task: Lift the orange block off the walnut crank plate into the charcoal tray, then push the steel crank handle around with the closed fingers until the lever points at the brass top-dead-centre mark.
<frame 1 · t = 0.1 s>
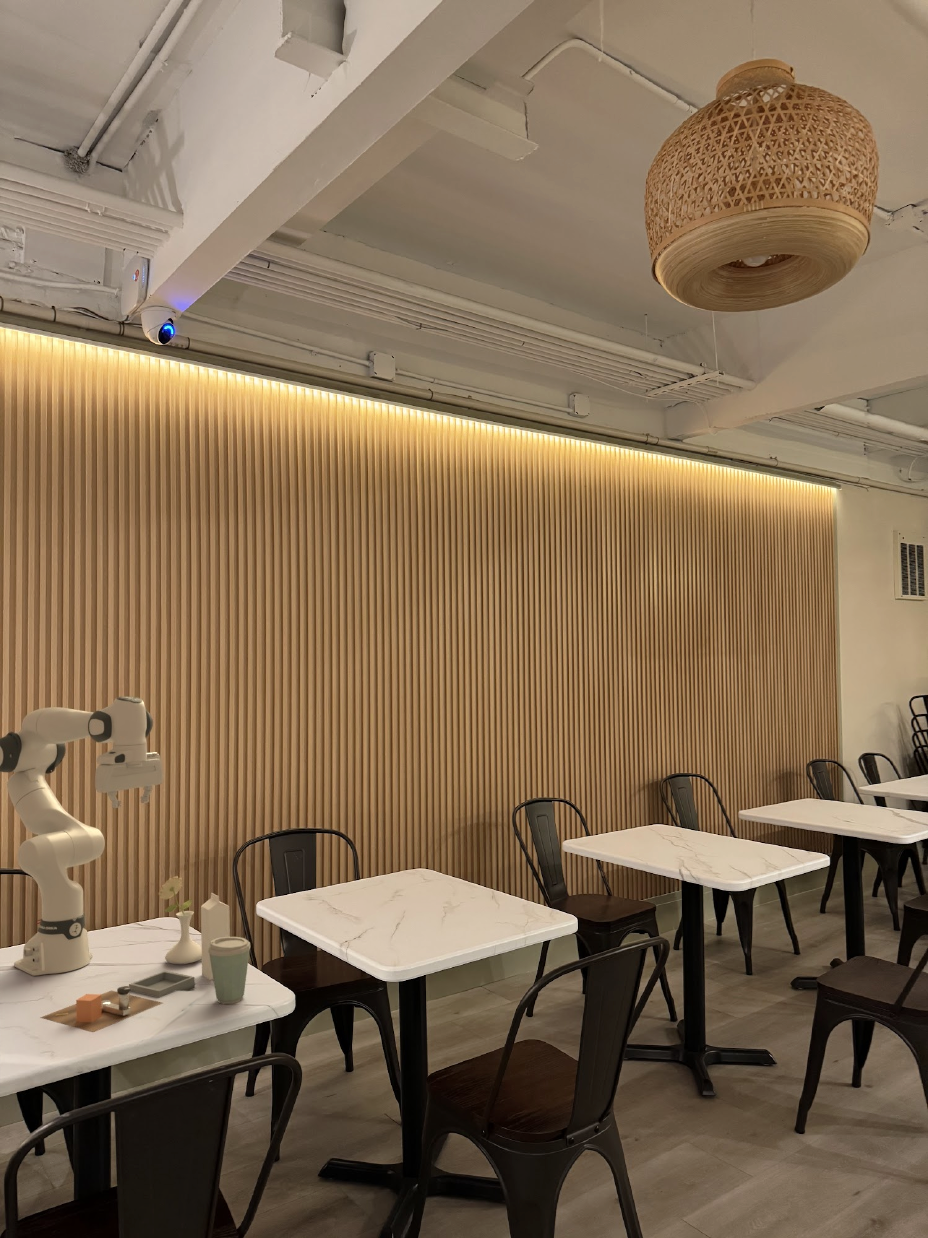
hand: (130, 805, 243), 48 cm above the table, fingers open, 8 cm apart
crank: (112, 998, 214), point 5 cm above the table, hinge at 0.0°
milk: (216, 976, 243), on the table
orange block: (89, 1018, 210), point 1 cm above the table, touching crank plate
crank plate: (102, 1016, 215), on the table
tray: (162, 992, 231), on the table
disposable coffee cup: (230, 1001, 223), on the table
flower in vase: (182, 962, 256), on the table
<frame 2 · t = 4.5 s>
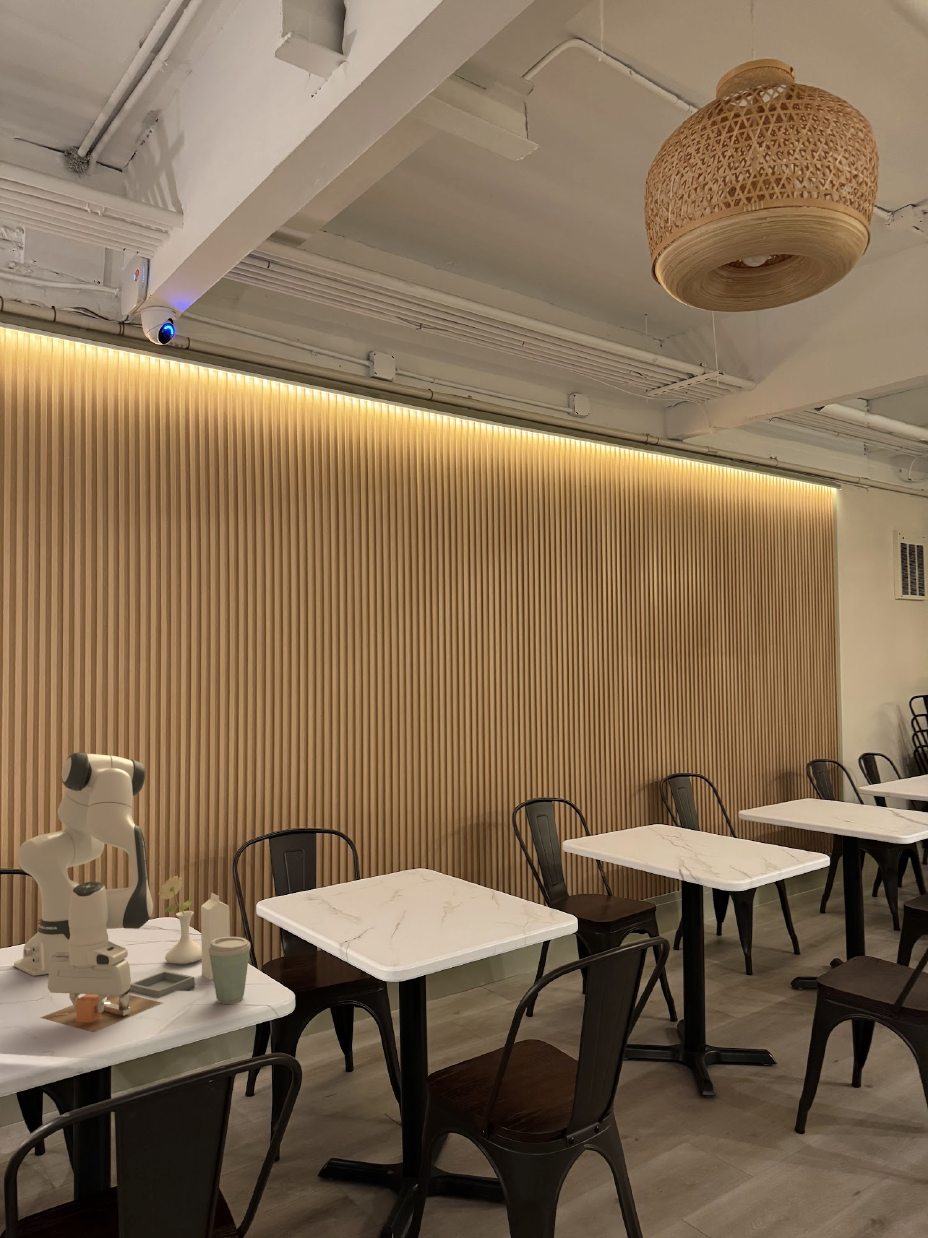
hand: (89, 1012, 210), 3 cm above the table, fingers closed on orange block, 4 cm apart
orange block: (89, 1018, 210), point 1 cm above the table, touching crank plate, gripper
everything else where it was.
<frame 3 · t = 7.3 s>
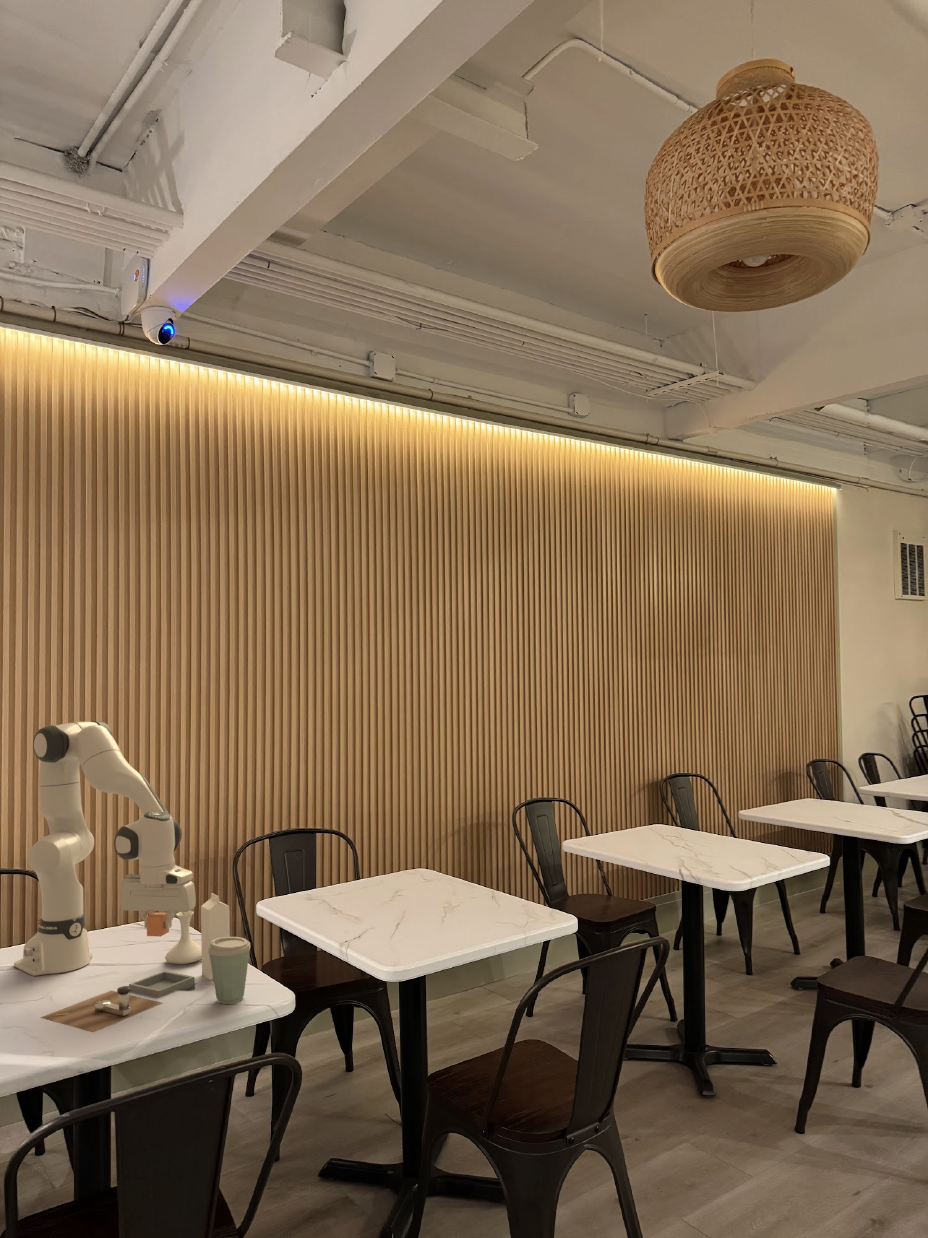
hand: (158, 928, 231), 17 cm above the table, fingers closed on orange block, 4 cm apart
orange block: (157, 934, 231), point 15 cm above the table, touching gripper
everything else where it was.
when the fingers open (5 cm above the table, at t = 10.1 s): orange block drops 2 cm, resting on tray.
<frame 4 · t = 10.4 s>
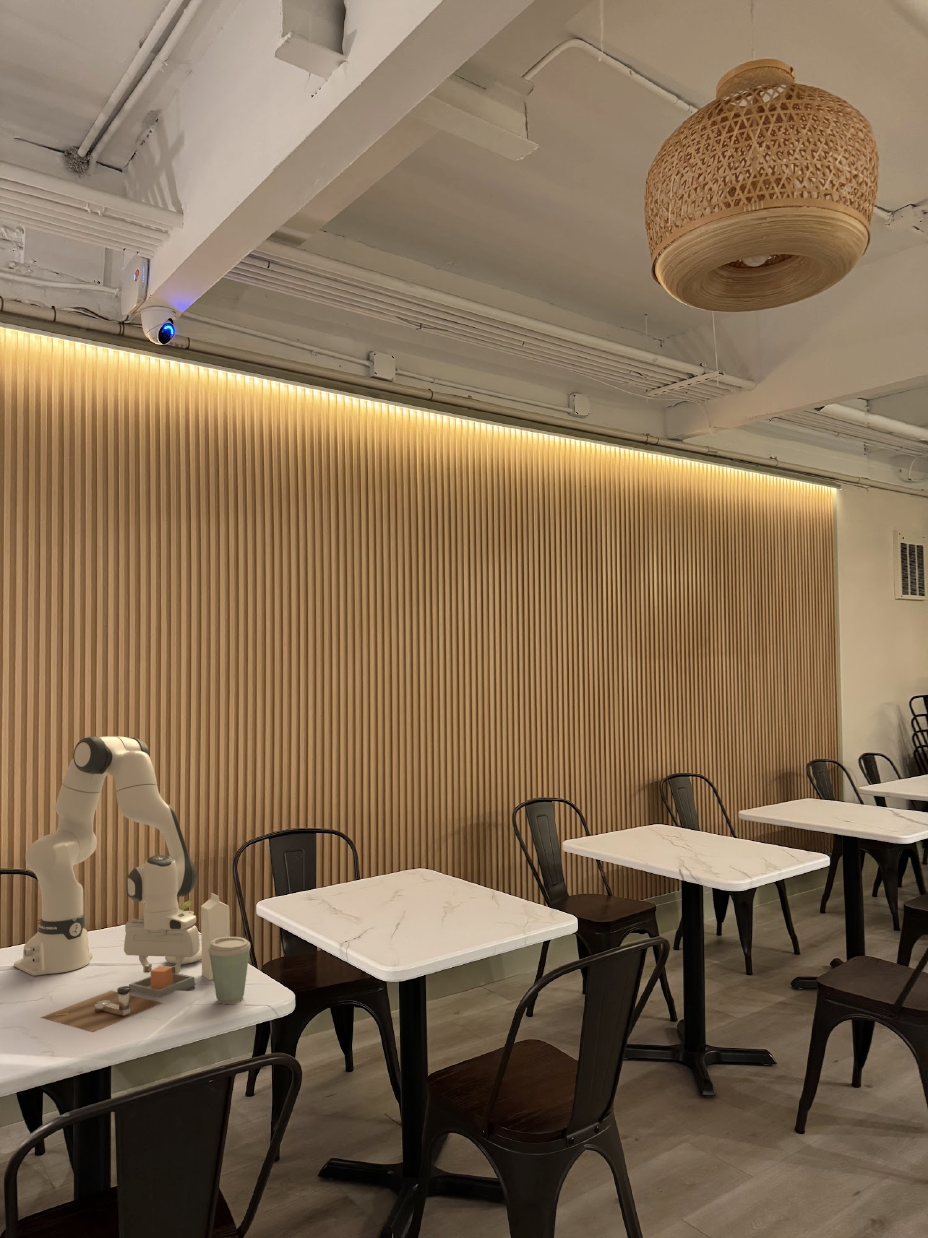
hand: (161, 972, 231), 5 cm above the table, fingers open, 7 cm apart
orange block: (161, 988, 231), point 1 cm above the table, touching tray
everything else where it was.
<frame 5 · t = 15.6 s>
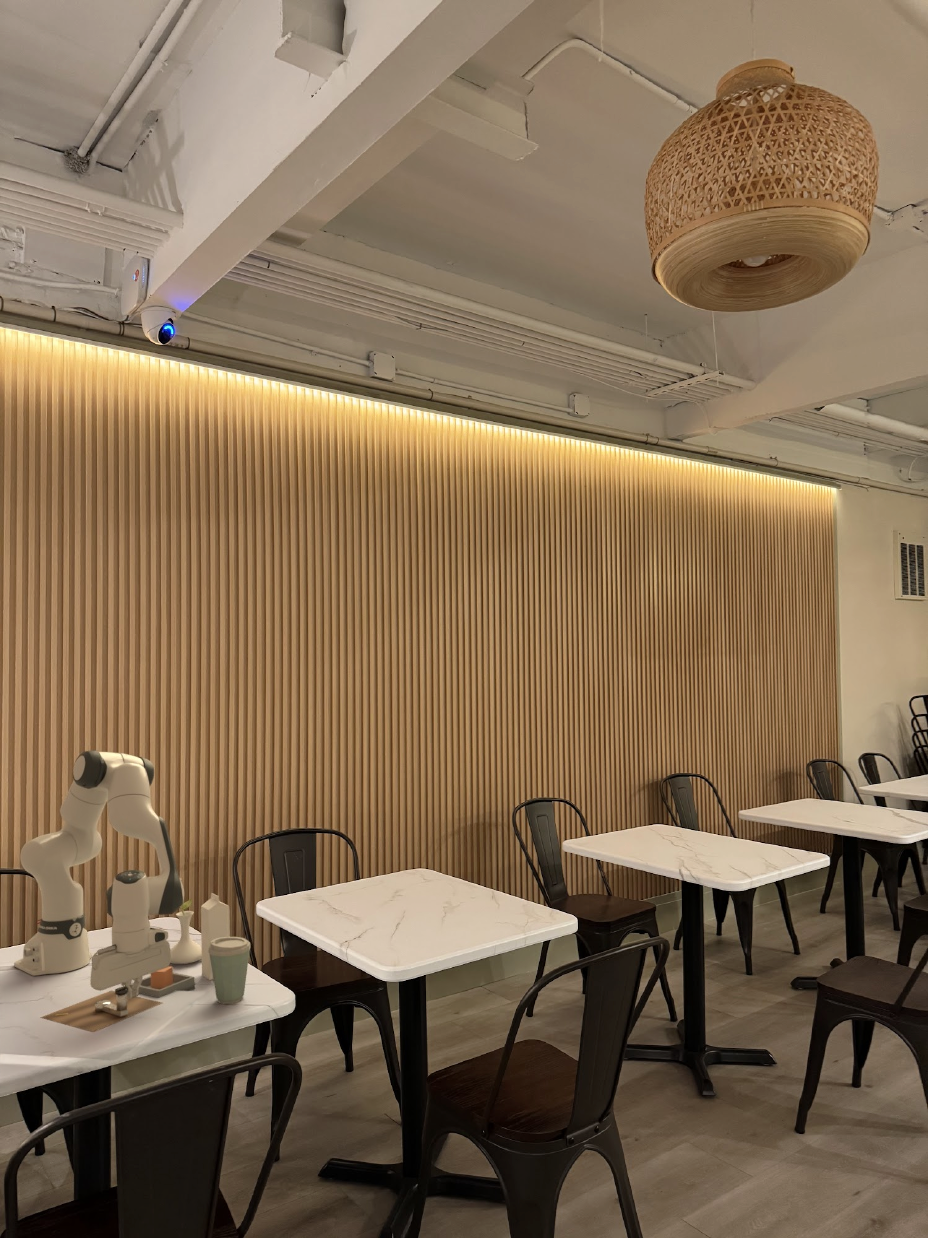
hand: (132, 997, 214), 5 cm above the table, fingers closed
crank: (111, 999, 214), point 5 cm above the table, hinge at -4.4°, touching gripper
everything else where it was.
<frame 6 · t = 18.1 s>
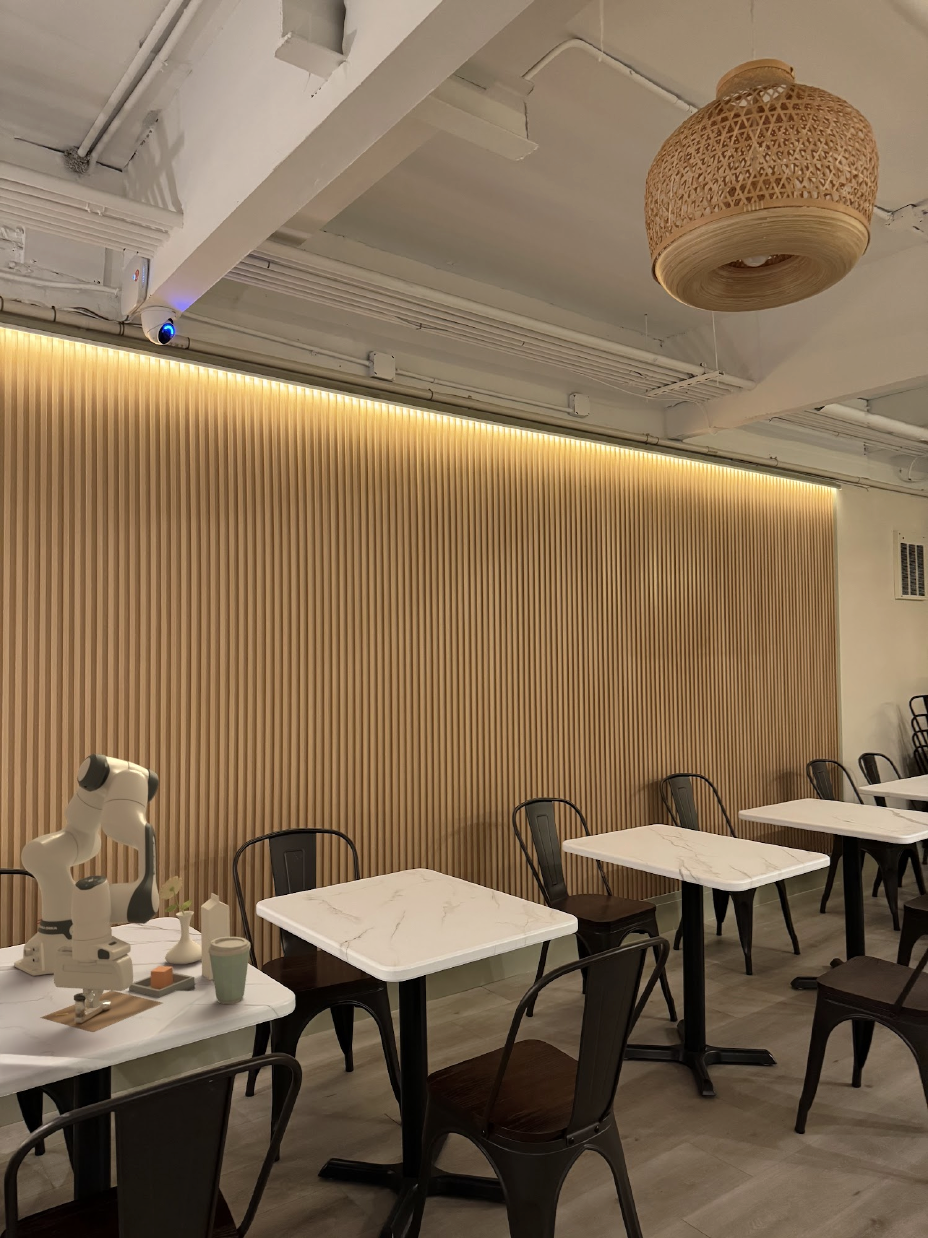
hand: (93, 1007, 208), 5 cm above the table, fingers closed
crank: (92, 1002, 212), point 5 cm above the table, hinge at -73.8°, touching gripper
everything else where it was.
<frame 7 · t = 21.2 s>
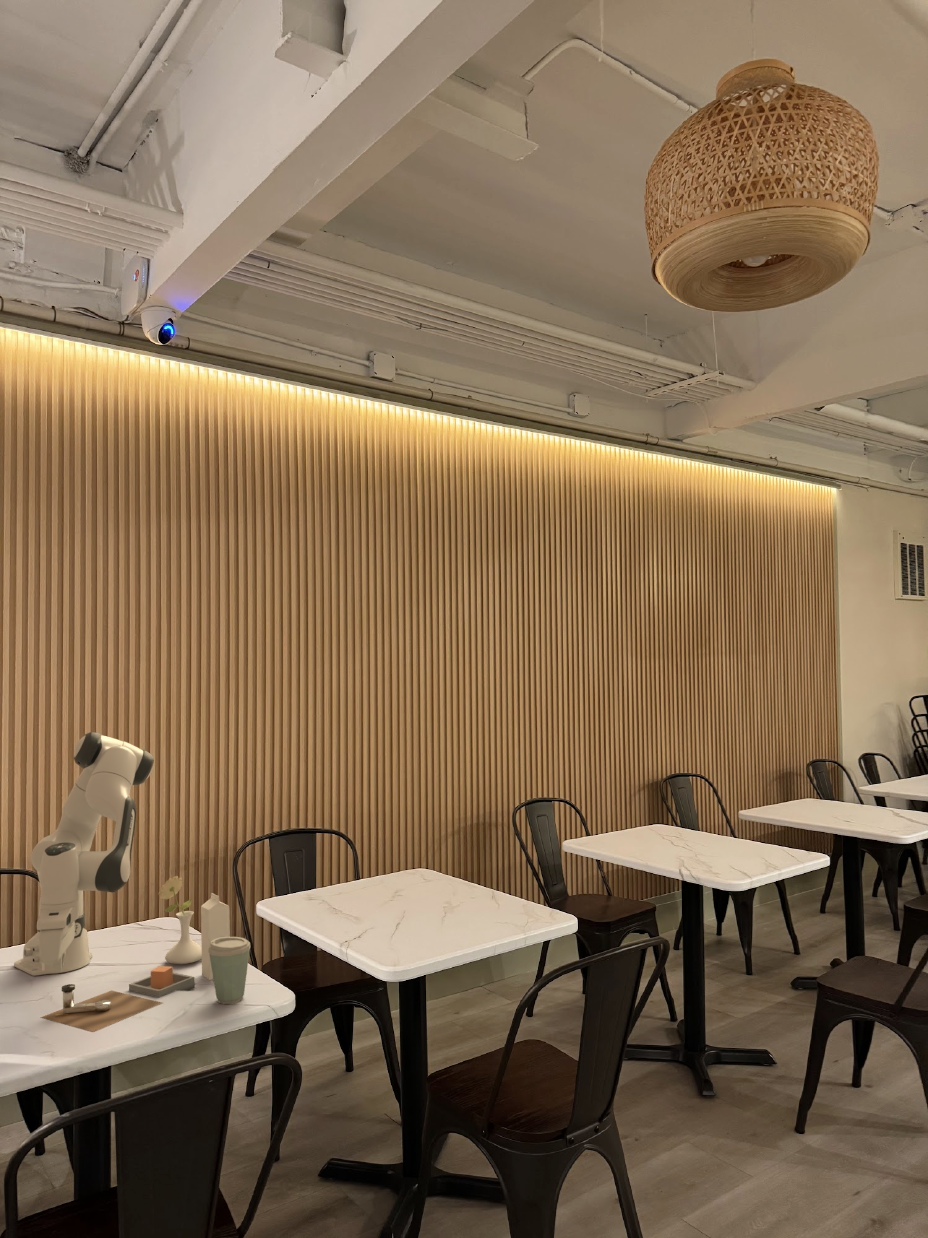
hand: (58, 971, 211), 13 cm above the table, fingers closed
crank: (86, 997, 215), point 5 cm above the table, hinge at -139.8°
everything else where it was.
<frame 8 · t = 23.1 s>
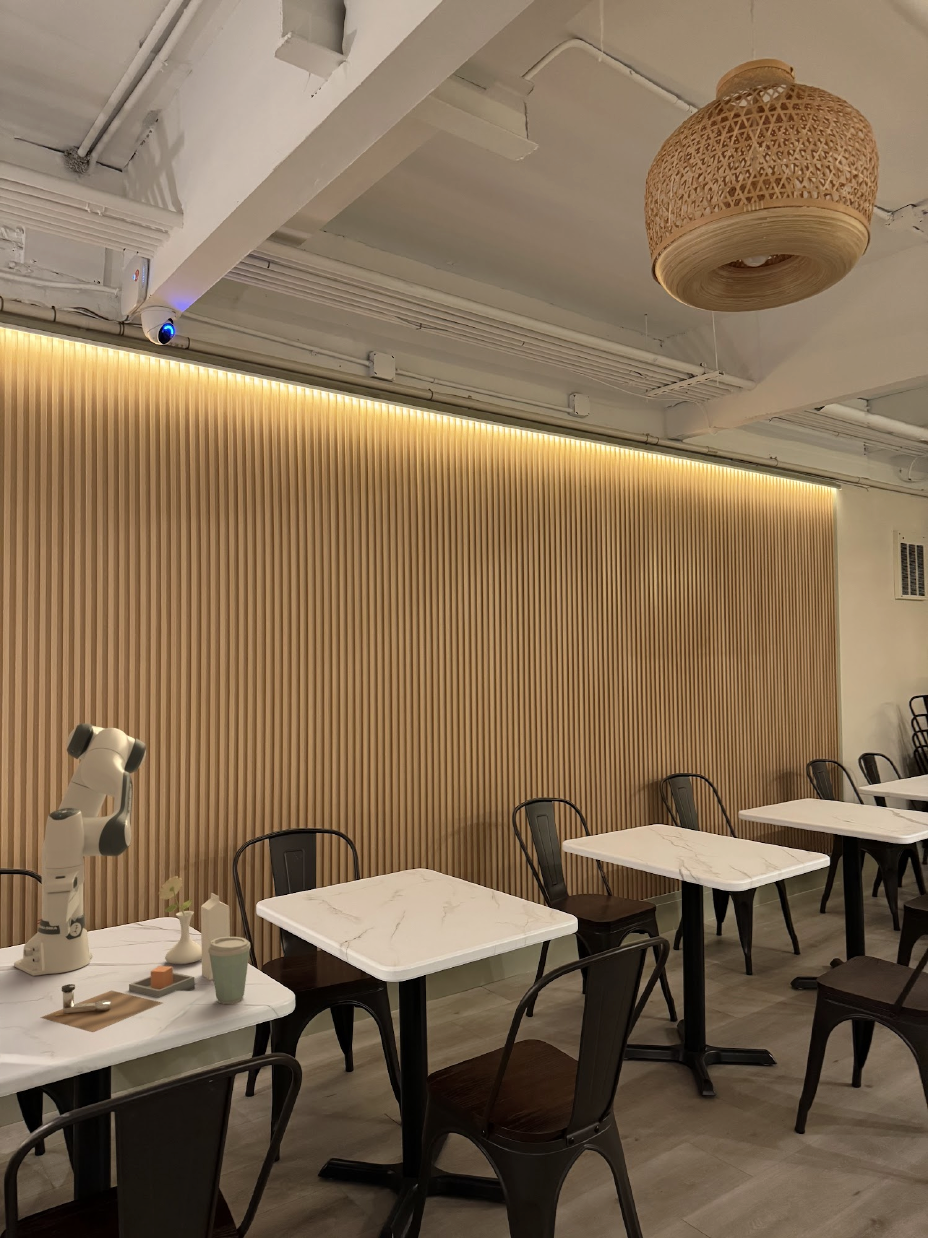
hand: (65, 935, 212), 21 cm above the table, fingers closed
nothing on the table moved.
at the end: crank at -140° (first picture: +0°); orange block inside the target area on the tray (0.0 cm from its centre), point 1.0 cm above the tray's base; the gripper is holding nothing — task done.
